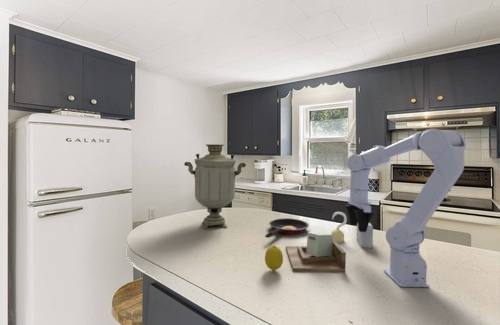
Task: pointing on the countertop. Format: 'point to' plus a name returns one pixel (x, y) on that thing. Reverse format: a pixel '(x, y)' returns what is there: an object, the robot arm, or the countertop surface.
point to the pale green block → (319, 244)
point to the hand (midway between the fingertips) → (357, 228)
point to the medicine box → (365, 237)
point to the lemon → (273, 258)
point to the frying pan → (287, 226)
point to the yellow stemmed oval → (337, 233)
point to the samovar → (214, 182)
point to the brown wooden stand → (317, 259)
